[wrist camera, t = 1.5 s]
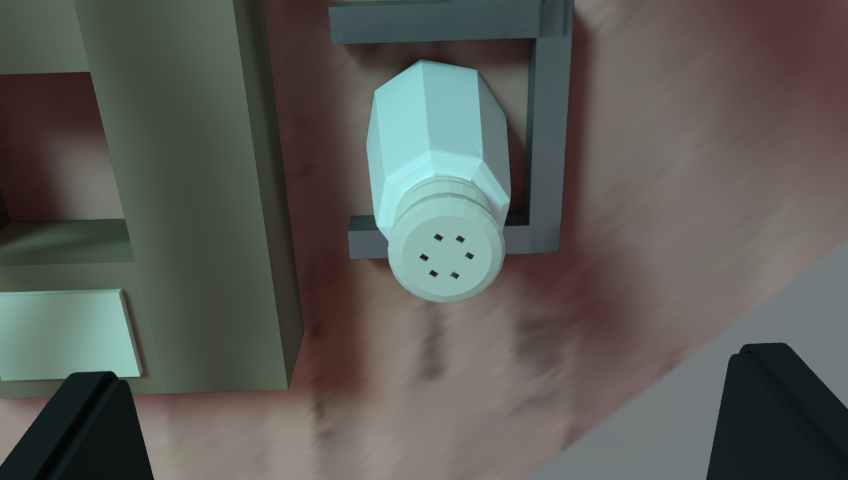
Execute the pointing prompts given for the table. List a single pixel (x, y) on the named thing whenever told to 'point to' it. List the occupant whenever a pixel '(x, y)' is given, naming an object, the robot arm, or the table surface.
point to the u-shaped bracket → (547, 95)
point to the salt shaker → (440, 179)
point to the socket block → (157, 207)
